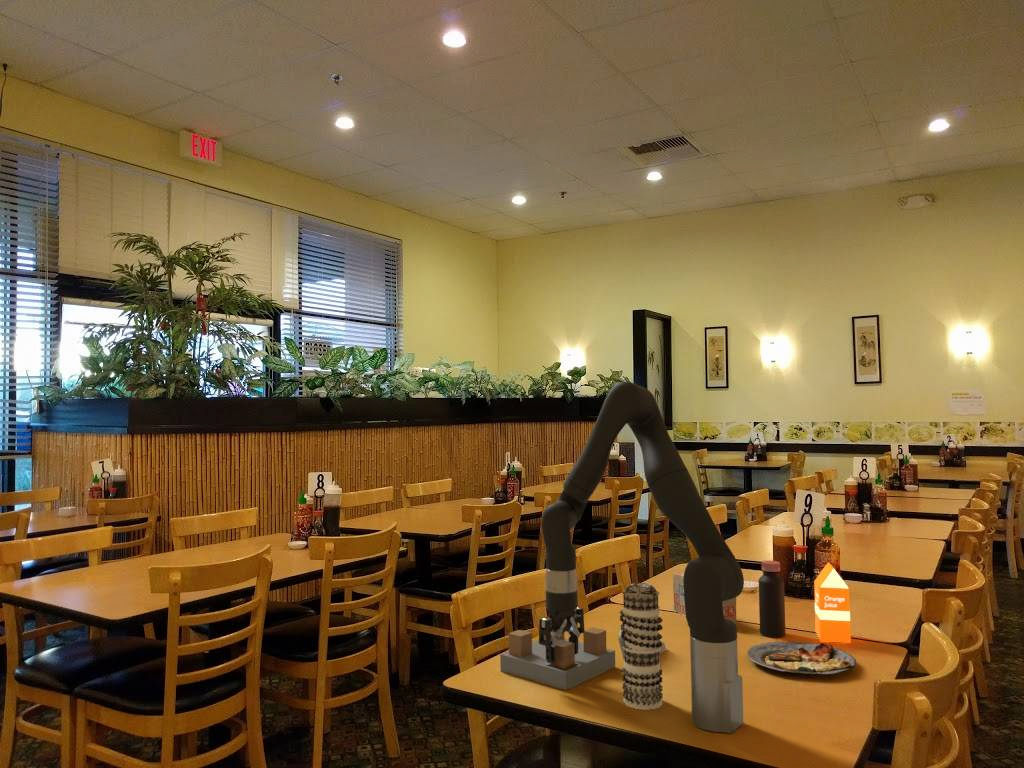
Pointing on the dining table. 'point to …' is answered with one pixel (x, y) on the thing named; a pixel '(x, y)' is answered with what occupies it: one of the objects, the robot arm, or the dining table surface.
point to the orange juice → (832, 607)
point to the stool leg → (564, 655)
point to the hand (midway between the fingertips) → (562, 658)
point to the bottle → (771, 600)
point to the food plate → (802, 657)
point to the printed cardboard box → (679, 602)
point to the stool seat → (534, 666)
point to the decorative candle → (641, 647)
